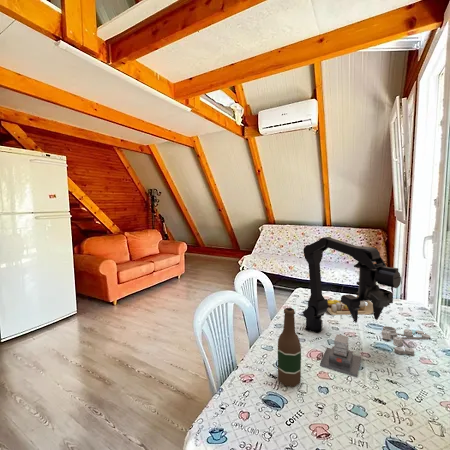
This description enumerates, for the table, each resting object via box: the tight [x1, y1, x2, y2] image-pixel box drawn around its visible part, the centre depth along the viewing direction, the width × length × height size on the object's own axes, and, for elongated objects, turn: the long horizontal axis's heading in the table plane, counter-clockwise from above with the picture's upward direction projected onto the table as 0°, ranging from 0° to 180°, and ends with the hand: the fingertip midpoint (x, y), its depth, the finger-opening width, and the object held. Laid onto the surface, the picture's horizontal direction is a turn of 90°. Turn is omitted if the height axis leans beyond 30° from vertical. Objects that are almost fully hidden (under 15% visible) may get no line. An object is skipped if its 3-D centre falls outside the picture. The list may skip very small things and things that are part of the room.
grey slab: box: [333, 333, 349, 358], centre depth 95 cm, size 4×6×8 cm
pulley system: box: [381, 325, 431, 355], centre depth 111 cm, size 27×5×15 cm
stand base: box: [319, 345, 362, 378], centre depth 95 cm, size 12×12×4 cm
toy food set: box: [326, 295, 374, 316], centre depth 145 cm, size 25×18×8 cm
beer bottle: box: [277, 307, 302, 388], centre depth 86 cm, size 8×8×24 cm
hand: (365, 320), depth 100 cm, fingers open, 9 cm apart
